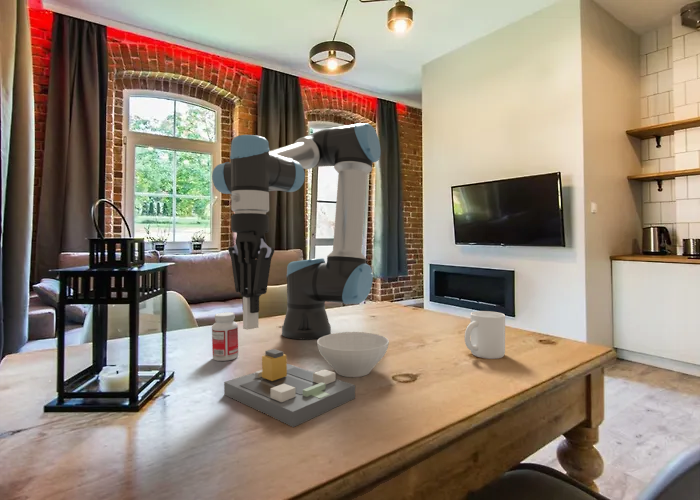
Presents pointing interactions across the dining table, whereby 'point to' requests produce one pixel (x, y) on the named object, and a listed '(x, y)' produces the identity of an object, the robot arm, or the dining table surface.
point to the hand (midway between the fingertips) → (250, 328)
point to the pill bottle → (225, 337)
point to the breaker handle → (274, 365)
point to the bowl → (352, 352)
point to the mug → (486, 334)
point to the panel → (291, 406)
